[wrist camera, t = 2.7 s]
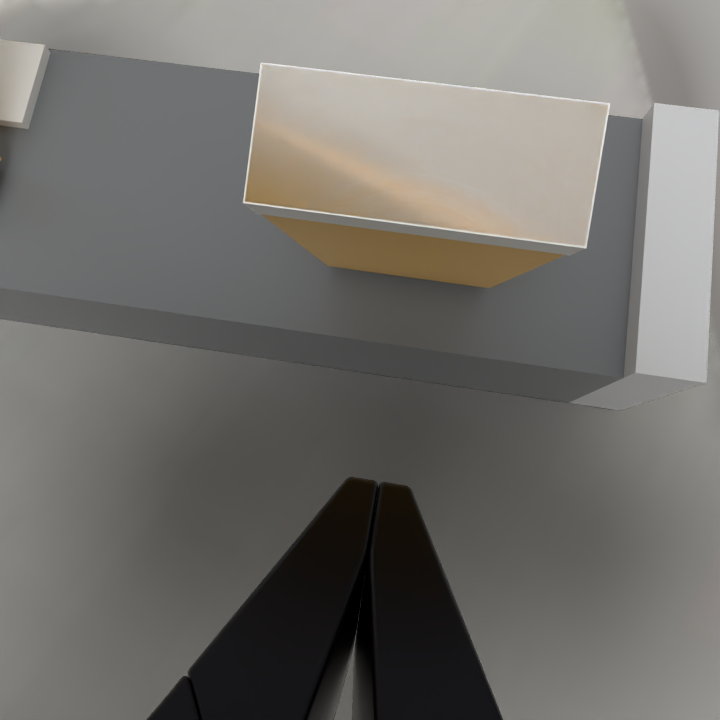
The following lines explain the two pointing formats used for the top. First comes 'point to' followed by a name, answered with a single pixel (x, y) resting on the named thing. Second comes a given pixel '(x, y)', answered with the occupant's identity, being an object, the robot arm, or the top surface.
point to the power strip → (309, 274)
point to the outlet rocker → (423, 173)
